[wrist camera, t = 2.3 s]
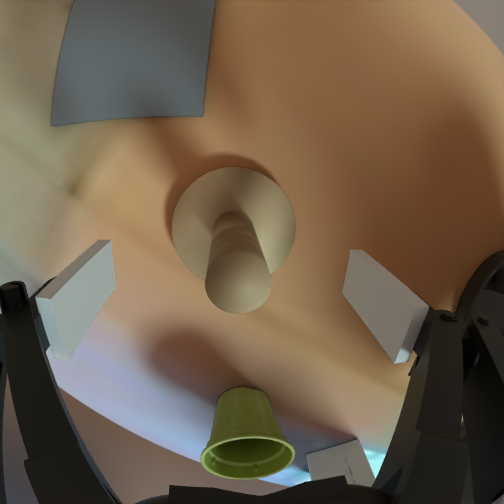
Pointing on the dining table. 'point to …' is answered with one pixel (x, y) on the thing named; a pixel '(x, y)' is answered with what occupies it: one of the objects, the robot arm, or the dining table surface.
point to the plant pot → (246, 437)
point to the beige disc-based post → (234, 235)
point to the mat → (133, 60)
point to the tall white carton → (341, 464)
